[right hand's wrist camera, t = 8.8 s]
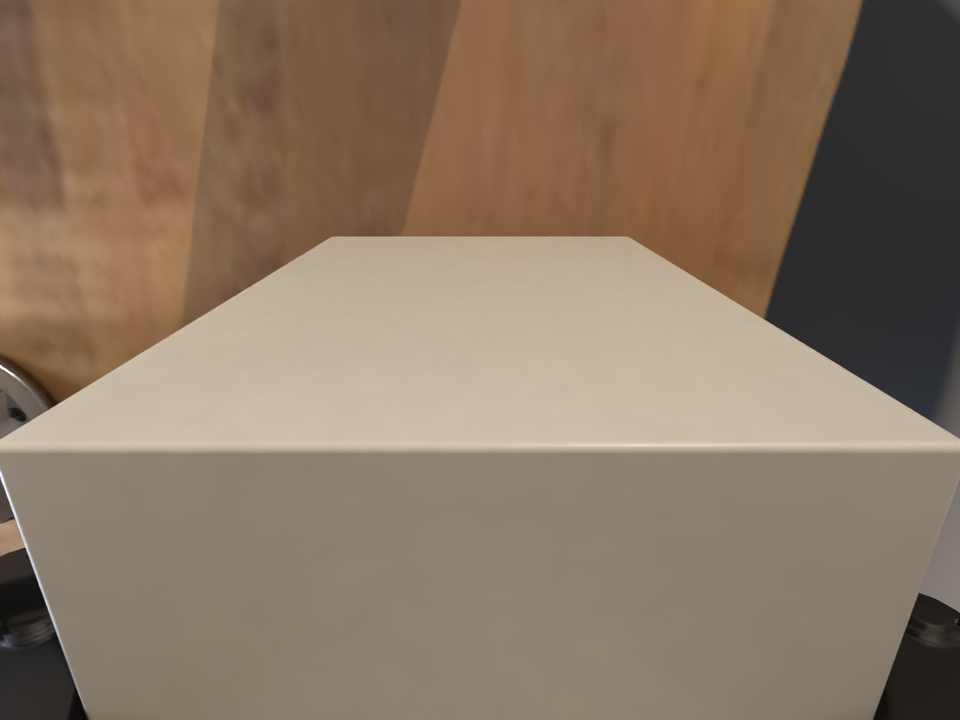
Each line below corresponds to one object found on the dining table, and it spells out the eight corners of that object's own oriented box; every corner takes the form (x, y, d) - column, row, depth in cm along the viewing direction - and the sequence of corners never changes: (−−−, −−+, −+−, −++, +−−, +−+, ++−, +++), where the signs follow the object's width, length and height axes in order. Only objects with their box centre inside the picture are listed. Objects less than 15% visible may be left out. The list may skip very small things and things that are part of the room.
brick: (605, 494, 19) (780, 983, 8) (354, 494, 19) (179, 983, 8) (629, 236, 16) (977, 445, 5) (330, 236, 16) (-18, 445, 5)
